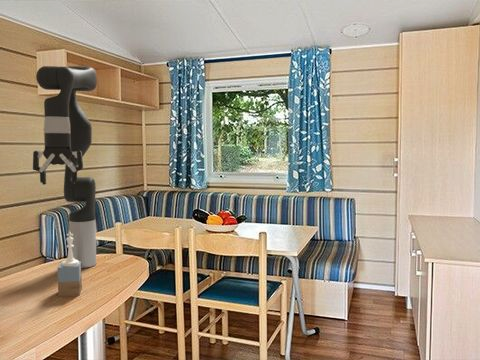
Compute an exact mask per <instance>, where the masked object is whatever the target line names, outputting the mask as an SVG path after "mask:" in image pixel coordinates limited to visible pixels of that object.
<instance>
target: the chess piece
mask: <svg viewBox="0 0 480 360" xmlns="http://www.w3.org/2000/svg"><path fill="white" fill-rule="evenodd" d="M66 236H68V237H66V242H67V245H66V248H68V250H67V258H66V259H65V260H62V266H75V265H78V264H79V261H78V260H75V258H73V253H72V247H74V245H72V242H73V239H74V238H72V237H71V236H73V234H71V232H70V231H68V233H67V234H66Z"/></svg>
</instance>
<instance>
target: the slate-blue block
mask: <svg viewBox="0 0 480 360" xmlns="http://www.w3.org/2000/svg"><path fill="white" fill-rule="evenodd" d="M62 262H63V261H62ZM62 262H61V261H60V262H59V264H58V265H57V268H56V269H57V270H56V271H57V283H58V282H72V281H79V280H80V277H81V275H82V268H81V261H79V264H78V265H75V266H62Z"/></svg>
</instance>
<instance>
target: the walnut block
mask: <svg viewBox="0 0 480 360" xmlns="http://www.w3.org/2000/svg"><path fill="white" fill-rule="evenodd" d="M82 279H83V277H82V274H81V277H80V280H79V281H72V282H58V281H57V289H58V293H57V294H58V298H61V297H62V298H63V297H75V296H77V297H78V296H80V295H81V294H82V293H81V292H82V290H83V280H82Z"/></svg>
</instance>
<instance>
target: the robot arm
mask: <svg viewBox="0 0 480 360" xmlns="http://www.w3.org/2000/svg"><path fill="white" fill-rule="evenodd" d="M35 77H36V78H35V79H36V83H37V84H38V86H39V87H41V88H42V89H43V90H48V91H54V90H55V91H59V93H58V95H55V96H50V97H47V98H45V99H44V103H43V107H44V108H43V109H44V113H43V114H44V122H43V133H44V134H43V135H44V136H43V137H44V138H43V139H44V140H43V141H44V150H43V151H40V150H34V151H33V152H32V155H33V156H32V170H33V171H36V172H39V182H40V183H42V185H44V186H45V185H46V184H47V172H46V170H47V169H48V168H49V167H50V165H52V166H55V165H61V166H63V165H65V166H64V178H63V195H64V196H63V197H64V199H65V202H68V203H85V204H84V206H83V207H81V208H79V209H76V210H73V211H71V212H69V215H68V222H69V223H68V224H69V225H68V226H69V231H68V232H71V234H73V236H71V237H72V238H74V239H73V242H72V245H74V247H72V253H73V258H75V260H78V261H81V269H85V268H90V267H94V266H96V264H97V232H96V230H97V229H96V189H97V187H96V182H95V179H94V177H92V176H91V177H89V176H78V172H79V171H81V170H83V169H84V162H83V157H84V156H85V154H86V153H87V151H88V150H89V148H90V146H91V144H92V141H93V139H92V136H93V135H92V133H93V132H92V131H93V130H92V129H93V128H92V123H91V121H90V120H89V118H88V116H87V114H86V113H85V112H84V111H83V109H82V107H81V106H80V104H79V102H78V99H77V92H91V91H93V90H95V89H96V88H97V84H98V78H97V77H98V76H97V72H96V70H95V69H94V67H91V66H84V65H83V66H82V65H81V66H79V65H78V66H77V65H73V66H55V65H53V66H52V65H51V66H50V65H43V66H41V67H40V68H38V70H37V72H36V76H35ZM42 156H43V157H44V158H45V159H46V160H45V161H44V162H43V164H42V166H41V167H40V159H41V158H42Z"/></svg>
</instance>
